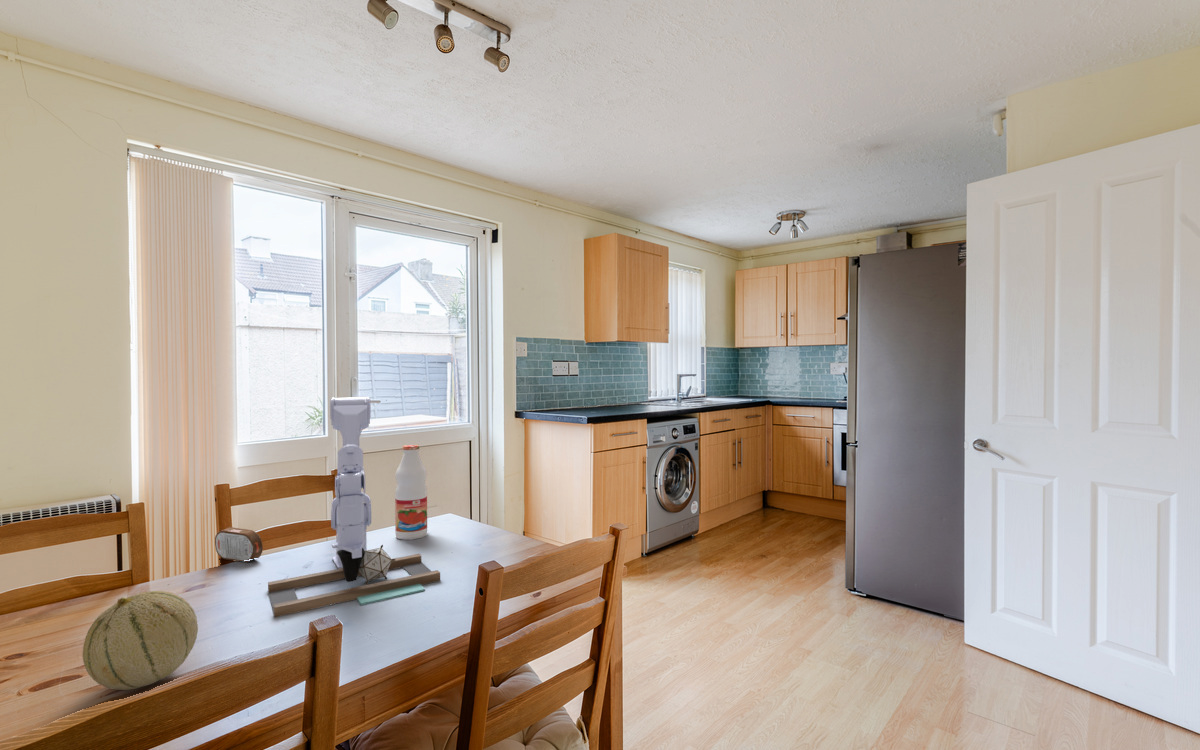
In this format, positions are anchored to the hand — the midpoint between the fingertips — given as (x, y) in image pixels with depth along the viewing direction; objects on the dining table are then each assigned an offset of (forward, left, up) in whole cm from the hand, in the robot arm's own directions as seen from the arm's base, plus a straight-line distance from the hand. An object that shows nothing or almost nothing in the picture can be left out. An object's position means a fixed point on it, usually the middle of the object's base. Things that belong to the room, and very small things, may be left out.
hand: (351, 580), depth 133 cm
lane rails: (0, +1, -2) cm, 2 cm away
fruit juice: (-33, +24, -2) cm, 41 cm away
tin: (-38, -21, -2) cm, 44 cm away
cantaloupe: (+24, -36, -2) cm, 44 cm away
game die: (-1, +5, -2) cm, 6 cm away
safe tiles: (0, +7, -2) cm, 7 cm away
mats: (0, +1, -2) cm, 2 cm away
